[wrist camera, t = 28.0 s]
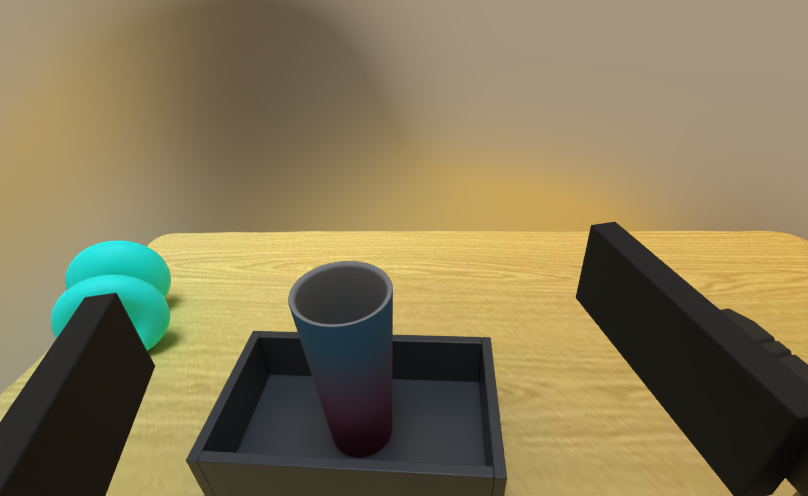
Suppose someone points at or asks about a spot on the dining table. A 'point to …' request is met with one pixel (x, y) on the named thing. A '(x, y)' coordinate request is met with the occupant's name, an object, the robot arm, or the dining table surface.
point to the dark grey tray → (312, 441)
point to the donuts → (119, 286)
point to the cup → (349, 350)
